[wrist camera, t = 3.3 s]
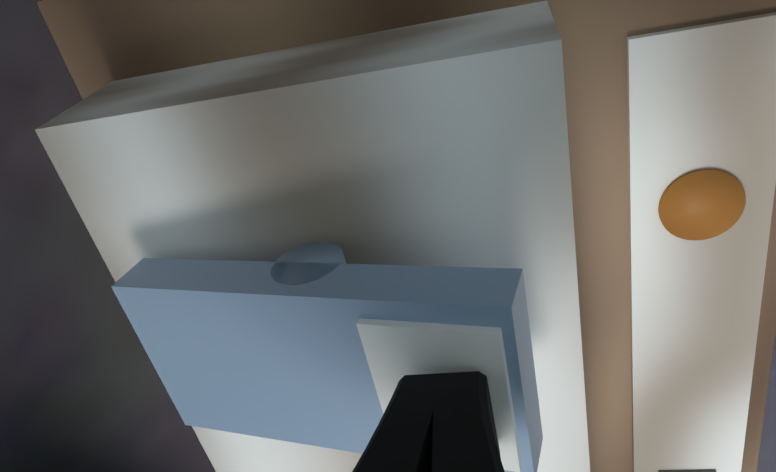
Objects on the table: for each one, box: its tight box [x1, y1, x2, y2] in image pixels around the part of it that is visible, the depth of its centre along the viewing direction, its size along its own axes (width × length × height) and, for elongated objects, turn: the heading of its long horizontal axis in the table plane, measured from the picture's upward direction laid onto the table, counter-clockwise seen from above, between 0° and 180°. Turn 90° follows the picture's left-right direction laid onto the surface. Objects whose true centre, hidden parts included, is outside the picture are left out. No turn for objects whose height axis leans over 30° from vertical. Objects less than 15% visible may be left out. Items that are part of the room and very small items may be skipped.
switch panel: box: [35, 0, 776, 472], centre depth 17 cm, size 16×24×4 cm, turn 12°
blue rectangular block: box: [111, 242, 543, 472], centre depth 12 cm, size 8×4×2 cm, turn 103°
